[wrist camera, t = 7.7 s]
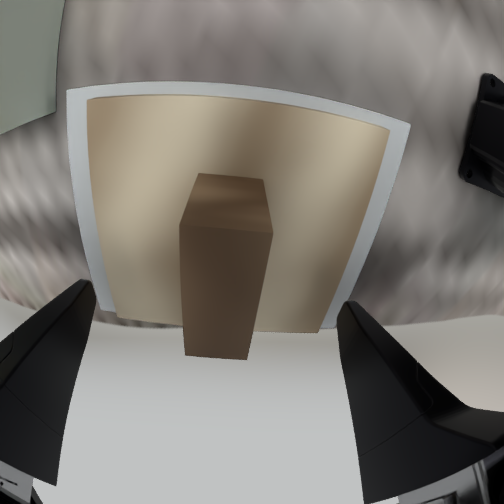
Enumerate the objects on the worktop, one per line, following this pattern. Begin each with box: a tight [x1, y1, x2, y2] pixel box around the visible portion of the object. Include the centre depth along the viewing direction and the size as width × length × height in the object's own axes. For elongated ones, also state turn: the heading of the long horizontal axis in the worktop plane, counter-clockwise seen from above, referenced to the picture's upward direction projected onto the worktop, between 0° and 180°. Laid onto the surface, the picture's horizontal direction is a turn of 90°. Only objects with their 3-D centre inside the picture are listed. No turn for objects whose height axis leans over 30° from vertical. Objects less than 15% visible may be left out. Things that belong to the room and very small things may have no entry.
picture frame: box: [67, 81, 411, 328], centre depth 13 cm, size 15×13×1 cm
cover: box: [87, 94, 390, 360], centre depth 11 cm, size 12×12×5 cm
